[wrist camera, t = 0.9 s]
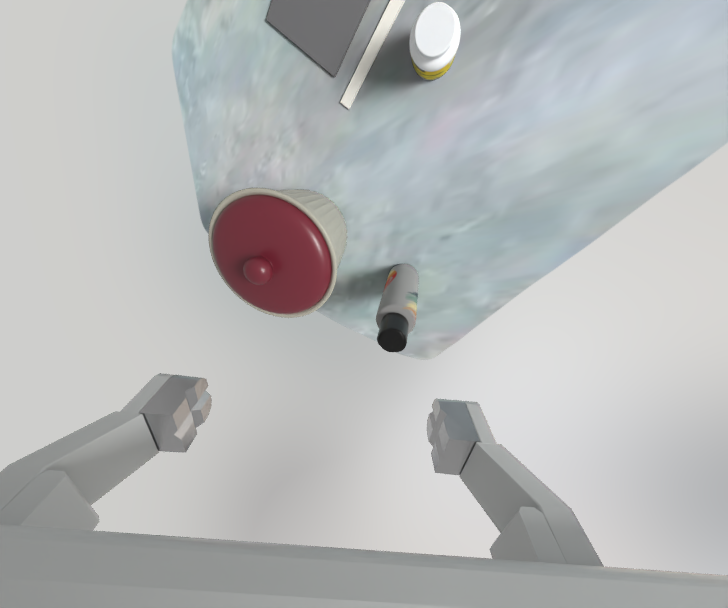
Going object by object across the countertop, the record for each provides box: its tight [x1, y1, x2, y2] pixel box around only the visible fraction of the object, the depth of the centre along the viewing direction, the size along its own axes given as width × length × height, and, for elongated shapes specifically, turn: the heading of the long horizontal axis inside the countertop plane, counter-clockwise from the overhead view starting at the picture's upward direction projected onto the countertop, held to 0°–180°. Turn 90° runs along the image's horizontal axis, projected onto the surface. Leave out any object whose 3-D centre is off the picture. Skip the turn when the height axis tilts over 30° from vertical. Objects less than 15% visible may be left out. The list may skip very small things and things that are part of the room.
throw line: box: [341, 0, 405, 109], centre depth 34 cm, size 22×2×1 cm, turn 146°
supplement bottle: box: [409, 2, 461, 80], centre depth 31 cm, size 5×5×10 cm
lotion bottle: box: [376, 264, 419, 352], centre depth 43 cm, size 6×6×20 cm
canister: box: [209, 188, 347, 318], centre depth 41 cm, size 18×18×21 cm
